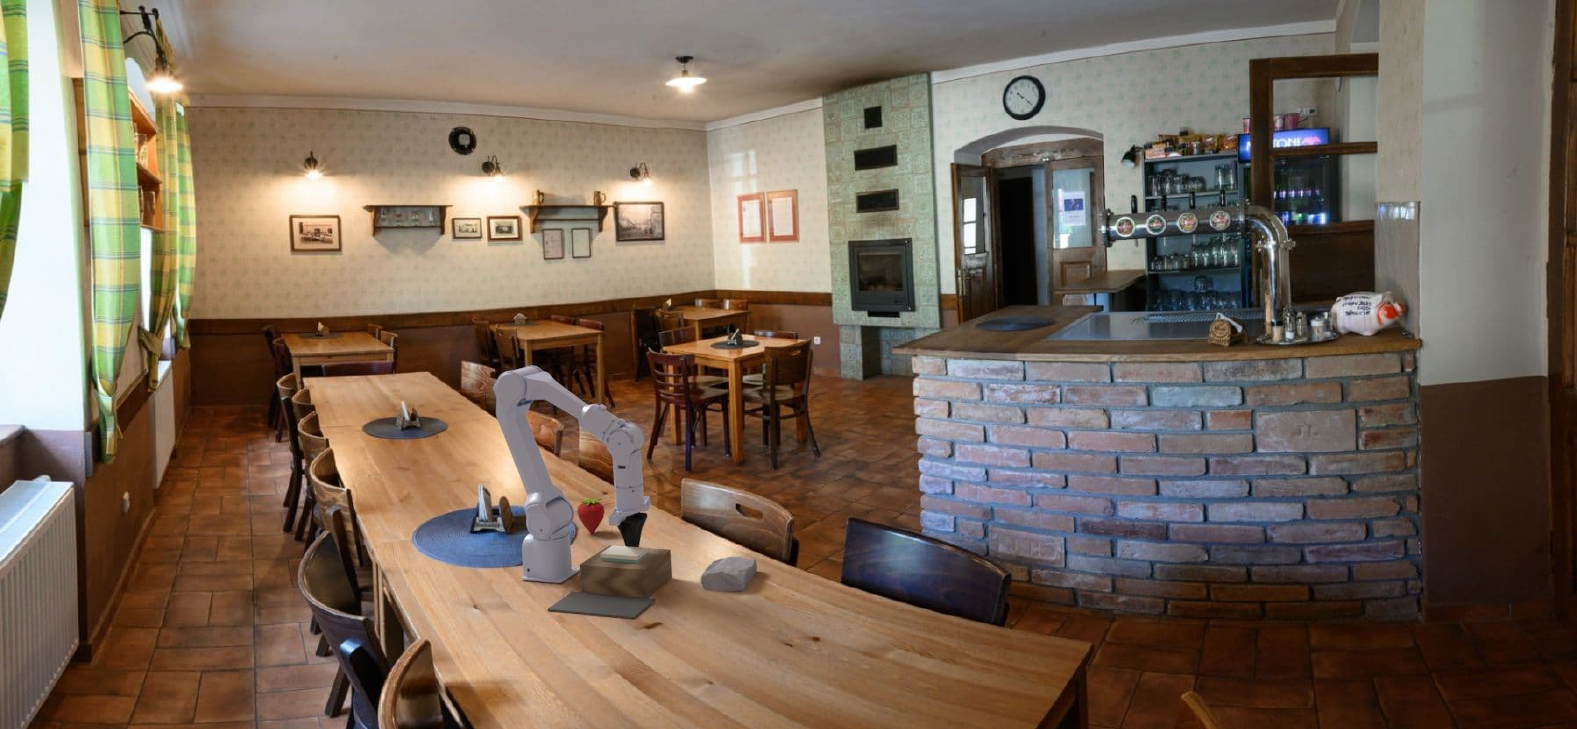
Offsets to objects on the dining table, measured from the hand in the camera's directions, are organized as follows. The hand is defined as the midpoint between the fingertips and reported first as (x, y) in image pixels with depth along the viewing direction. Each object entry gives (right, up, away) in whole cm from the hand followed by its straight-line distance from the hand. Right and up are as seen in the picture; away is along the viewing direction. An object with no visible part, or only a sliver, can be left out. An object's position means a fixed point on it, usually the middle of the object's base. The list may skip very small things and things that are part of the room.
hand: (632, 549), depth 186 cm
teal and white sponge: (-1, -1, -3) cm, 4 cm away
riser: (-1, -7, -2) cm, 7 cm away
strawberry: (-15, -3, +34) cm, 37 cm away
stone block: (+19, -7, -1) cm, 20 cm away
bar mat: (-4, -8, -12) cm, 15 cm away
